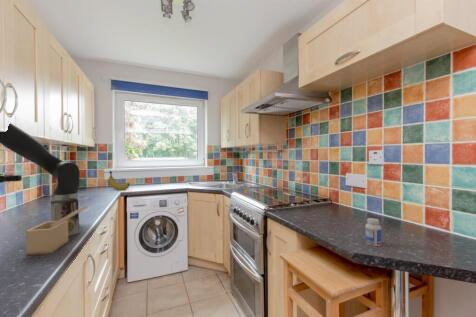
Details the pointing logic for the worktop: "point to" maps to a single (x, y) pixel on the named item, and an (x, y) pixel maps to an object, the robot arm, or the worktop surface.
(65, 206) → the coffee box
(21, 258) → the worktop surface
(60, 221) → the carton flap
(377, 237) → the pill bottle
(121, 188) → the banana
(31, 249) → the carton
